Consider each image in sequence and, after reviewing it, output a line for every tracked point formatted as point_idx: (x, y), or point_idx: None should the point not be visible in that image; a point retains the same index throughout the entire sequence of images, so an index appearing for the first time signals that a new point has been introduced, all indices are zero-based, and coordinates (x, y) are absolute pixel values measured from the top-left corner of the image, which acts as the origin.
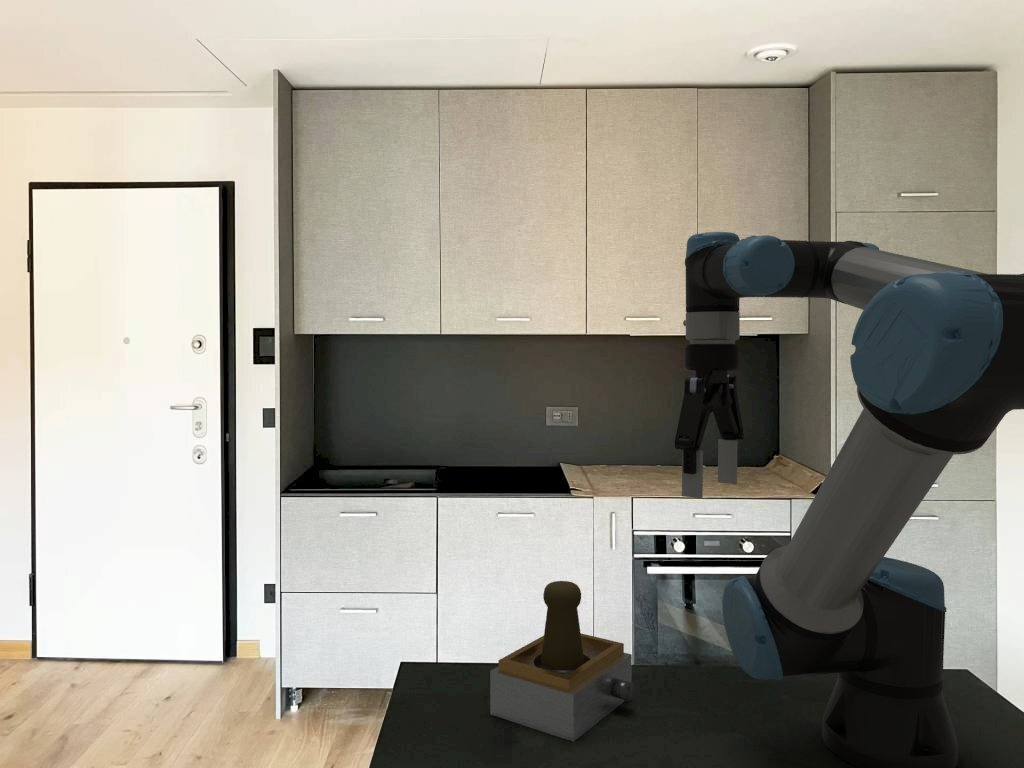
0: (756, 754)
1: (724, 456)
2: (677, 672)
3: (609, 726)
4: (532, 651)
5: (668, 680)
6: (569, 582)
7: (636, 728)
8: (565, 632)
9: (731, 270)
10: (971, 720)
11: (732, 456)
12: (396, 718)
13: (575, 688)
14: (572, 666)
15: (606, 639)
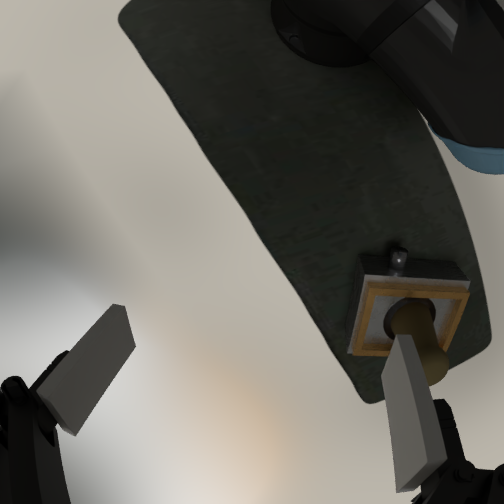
0: (413, 116)
1: (92, 384)
2: (278, 234)
3: (422, 248)
4: None
5: (303, 236)
6: (427, 373)
7: (417, 226)
8: (435, 333)
9: None
10: None
11: (83, 367)
12: (449, 368)
13: (459, 285)
14: (426, 307)
15: (365, 307)
